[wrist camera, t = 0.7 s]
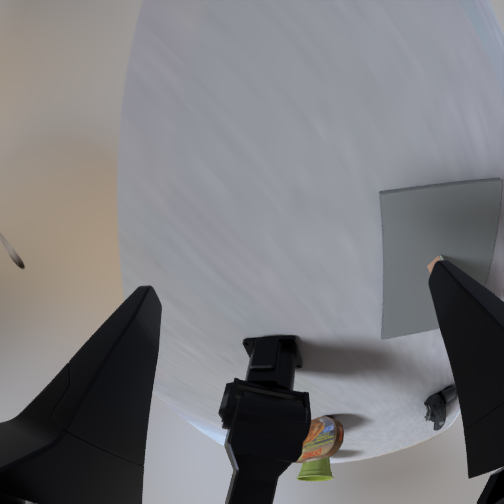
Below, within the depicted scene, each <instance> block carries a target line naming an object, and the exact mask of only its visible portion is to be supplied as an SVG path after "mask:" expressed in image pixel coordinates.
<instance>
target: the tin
mask: <svg viewBox="0 0 504 504" xmlns="http://www.w3.org/2000/svg"><path fill="white" fill-rule="evenodd" d="M343 436H344V431H343V426H342V424H341V423H340V422H339V421H338V420H336V419H333V418H330V417H327V416H322V417H319V418H316V419H314V420H311V426H310V431H309V434H308V436H307V438H306V440H305V441H304V442H303V449H302V455H301V456H300V458H299V459H298V460H297V461H296V462H295V463H305V462H309V461H313V460H318V459H322V458H326V457H329V456H332V455H333V454H335V453H336V452H337V451H338V450H339V448H340V447H341V445H342V443H343Z"/></svg>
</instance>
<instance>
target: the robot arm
mask: <svg viewBox="0 0 504 504" xmlns="http://www.w3.org/2000/svg"><path fill="white" fill-rule="evenodd" d="M428 285H429V289H430V293H431V296H432V300H433V304H434V308H435V312H436V316H437V320H438V324H439V327H440V331H441V334H442V337H443V340H444V344H445V347H446V350H447V354H448V357H449V361H450V365H451V369H452V373H453V377H454V381H455V385H456V390H457V394H458V399H459V404H460V409H461V415H462V421H463V427H464V435H465V443H466V452H467V465H468V477H469V478H473V477H476V476H479V475H482V474H485V473H487V472H490V471H493V470H496V469H498V468H501V467H502V468H501V469H500V470H498V471H496V472H495V473H493V474H492V475H491V476H490V478H489V480H488V482H487V484H486V486H485V488H484V490H483V492H482V494H481V495H480V497H479V499H478V501H477V504H504V467H503V466H504V302H503V301H502V300H501V299H500V298H498V297H497V296H496V295H494V294H493V293H492V292H491V291H489V290H488V289H487V288H485V287H484V286H483V285H481V284H480V283H479V282H477V281H476V280H475V279H473V278H472V277H471V276H469V275H468V274H467V273H465V272H464V271H462V270H461V269H460V268H458V267H457V266H455V265H454V264H452V263H451V262H449V261H448V260H438V261H436V262H435V264H434V266H433V269H432V272H431V274H430V277H429V280H428ZM161 313H162V306H161V302H160V300H159V298H158V296H157V294H156V292H155V290H154V288H153V287H152V286H140V287H138V288H137V289H136V290H135V291H134V292H133V293H132V294H131V295H130V296H129V297H128V298H127V299H126V300H125V301H124V302H123V303H122V304H121V305H120V306H119V308H118V309H117V310H116V311H115V312H114V313H113V314H112V315H111V316H110V317H109V318H108V319H107V320H106V321H105V322H104V323H103V324H102V325H101V327H100V328H99V329H98V330H97V331H96V332H95V333H94V334H93V335H92V336H91V337H90V338H89V340H88V341H87V342H86V343H85V344H84V345H83V346H82V347H81V348H80V349H79V351H78V352H77V353H76V354H75V355H74V356H73V357H72V358H71V360H70V361H69V363H67V364H66V365H65V366H64V368H63V369H62V370H61V371H60V372H59V373H58V374H57V375H56V377H55V378H54V379H53V380H52V381H51V382H50V383H49V384H48V385H47V386H46V387H45V388H44V389H43V391H42V392H41V393H40V394H39V395H38V396H37V397H36V398H35V399H34V400H33V401H32V402H31V403H30V404H29V405H28V406H27V407H26V408H25V409H24V410H23V411H22V412H21V413H20V414H19V415H18V416H16V417H15V418H13V419H11V420H9V421H6V422H1V423H0V504H142V491H143V475H144V460H145V449H146V439H147V429H148V420H149V413H150V405H151V398H152V391H153V384H154V378H155V371H156V365H157V359H158V352H159V339H160V325H161ZM243 345H244V347H245V349H246V351H247V353H248V355H249V357H250V361H249V365H248V370H247V374H246V379H245V381H243V380H239V379H238V378H235V379H234V382H231V383H227V384H226V387H225V391H224V395H223V399H222V402H221V406H220V409H219V413H218V414H219V415H220V417H221V418H222V421H221V422H223V425H222V428H223V429H228V431H227V435H226V440H225V444H224V446H225V449H226V452H227V454H228V457H229V459H230V462H231V465H232V467H233V474H232V478H231V482H230V486H229V490H228V494H227V497H226V501H225V504H273V499H274V495H275V491H276V486H277V481H278V477H279V476H280V475H281V474H282V473H283V472H284V471H285V470H286V469H287V468H288V467H289V466H290V465H291V463H295V462H296V461H297V460H298V459H299V458H300V456H301V455H302V449H303V442H304V441H305V440H306V438H307V436H308V434H309V431H310V426H311V411H310V401H309V393H308V392H298V391H293V387H294V377H295V368H302V366H303V363H302V359H301V356H300V352H299V349H298V345H297V342H296V338H295V337H294V336H284V337H270V338H253V339H244V340H243Z"/></svg>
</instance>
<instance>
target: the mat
mask: <svg viewBox="0 0 504 504" xmlns="http://www.w3.org/2000/svg"><path fill="white" fill-rule="evenodd" d="M502 181H503V180H501V179H500V178H492V179H481V180H471V181H461V182H452V183H443V184H434V185H426V186H418V187H410V188H402V189H395V190H388V191H381V192H379V194H380V206H381V219H382V236H383V314H382V331H381V337H382V339H388V338H394V337H399V336H405V335H410V334H415V333H420V332H425V331H429V330H434V329H438V328H440V327H439V324H438V320H437V316H436V312H435V308H434V304H433V300H432V296H431V293H430V289H429V285H428V280H429V277H430V272H429V270H428V268H427V266H428V265H429V264H430V263H431V262H432V261H433V260H434V259H435V258H436V257H437V256H440V255H441V256H442V257H443V258H444V259H445V260H448V261H449V262H451V263H452V264H454V265H455V266H457V267H458V268H460V269H461V270H462V271H464V272H465V273H467V274H468V275H469V276H471V277H472V278H473V279H475V280H476V281H477V282H479V283H480V284H481V285H483V286H484V287H485V284H486V280H487V276H488V272H489V268H490V264H491V260H492V255H493V250H494V245H495V240H496V234H497V228H498V221H499V214H500V205H501V195H502Z"/></svg>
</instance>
